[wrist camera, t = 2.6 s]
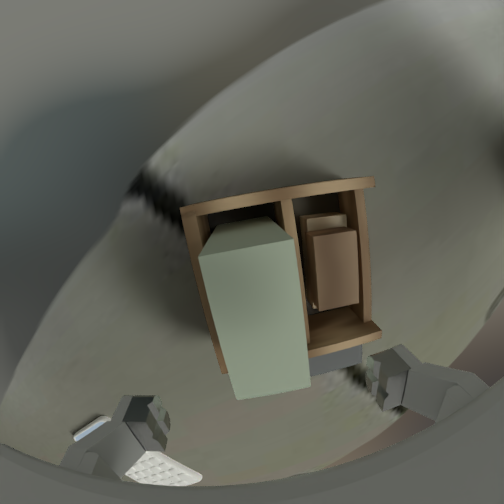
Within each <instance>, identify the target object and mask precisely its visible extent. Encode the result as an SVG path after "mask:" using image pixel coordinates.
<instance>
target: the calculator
mask: <svg viewBox="0 0 504 504" xmlns="http://www.w3.org/2000/svg"><path fill="white" fill-rule="evenodd" d="M106 421H111V418H109V417H107V416H104V415H103V416H100V417H98V418H97V419H95V420H94V421H92V422H91V423H89V424H88V425H86V426H85V427H83V428H82V429H80V430H79V431H77V432H76V433H75V434H74V437H73V438H74V440H75V441H76V442H77V441H78V440H80V439H81V438H83V437H84V436H86V435H87V434H89V433H90V432H92V431H93V430H95V429H96V428H98V427H99V426H101V425H102V424H104V423H105V422H106ZM136 469H137V470H136ZM125 475H127V476H128V477H130V478H132V479H134V480H136V481H137V482H139V483H143V484H153V485H166V486H186V485H190V484H193V483H196V482H199V481H201V480H202V475H201V474H200V473H198V472H196V471H194V470H192V469H190V468H188V467H186V466H184V465H182V464H180V463H179V462H177V461H175V460H173V459H171V458H170V457H168V456H166V455H164V454H163V453H161V452H159V451H146V452H145V453H144V455H143V456H142V457H141V458H140V459H139V460H138V461H137V462H136V463H135V464H134V465H133V466H132V467H131V468H130V469H129V470H128V471H127V472H126V473H125Z"/></svg>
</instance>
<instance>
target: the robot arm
mask: <svg viewBox="0 0 504 504" xmlns="http://www.w3.org/2000/svg"><path fill="white" fill-rule="evenodd" d="M366 365H367V366H368V368H369V370H368V371H367V372H366V383H367V387H368V389H369V391H370V393H371V394H372V395H375V396H376V402H377V404H378V405H379V407H380V408H381V410H382V411H386V410H388V409H391V408H393V407H396V406H398V405H401V404H402V406H404V407H406V408H409V409H411V410H413V411H415V412H417V413H419V414H422V415H424V416H426V417H428V418H430V419H433V420H435V421H436V422H435V424H434V425H432V426H431V427H429V428H427V429H425V430H423V431H421V432H419V433H417V434H415V435H413V436H411V437H409V438H407V439H405V440H403V441H401V442H398V443H396V444H394V445H392V446H389V447H387V448H385V449H382V450H380V451H377V452H375V453H372V454H370V455H367V456H364V457H361V458H359V459H356V460H353V461H350V462H347V463H344V464H341V465H338V466H334V467H331V468H327V469H324V470H319V471H316V472H312V473H307V474H303V475H298V476H294V477H289V478H283V479H278V480H271V481H265V482H257V483H249V484H239V485H225V486H166V485H153V484H143V483H135V482H128V481H123V480H122V479H121V478H122V477H123V475H124V474H125V473H126V472H127V471H128V470H129V469H130V468H131V467H132V466H133V465H134V464H135V463H136V462H137V461H138V460H139V459H140V458H141V457H142V456H143V455H144V453H145V452H146V451H165V449H166V444H167V440H168V439H167V437H166V436H165V435H166V434H167V433H168V432H169V431H170V418H169V414H168V412H167V411H166V410H165V409H164V408H162V407H161V405H162V401H161V399H160V397H159V396H157V395H135V396H131V395H124V396H123V397H122V398H121V400H120V402H119V404H118V406H117V408H116V410H115V412H114V414H113V417H112V419H111V421H106V422H105V423H104V424H102V425H101V426H99V427H98V428H96V429H95V430H93V431H92V432H90V433H89V434H87V435H86V436H84V437H83V438H81V439H80V440H78V441H77V442H75V443H74V444H72V445H70V446H69V447H68V449H67V451H66V453H65V455H64V457H63V459H62V461H61V463H60V465H59V466H58V465H55V464H52V463H49V462H46V461H43V460H41V459H38V458H35V457H33V456H30V455H28V454H25V453H23V452H21V451H18V450H16V449H14V448H12V447H10V446H8V445H5V444H1V443H0V504H504V377H503V378H501V379H500V380H499V381H498V382H497V383H495V384H494V385H493V386H492V387H489V386H488V385H486V384H485V383H484V382H483V381H482V380H481V379H480V378H479V377H477V376H476V375H475V374H474V373H472V372H466V371H462V370H457V369H452V368H448V367H443V366H439V365H434V364H430V363H426V362H425V363H423V364H422V363H421V362H420V361H419V360H418V359H417V358H416V357H415V356H414V355H413V354H412V353H411V352H410V351H409V350H408V349H407V348H406V347H405V346H404V345H402V344H399V345H397V346H394V347H392V348H390V349H387V350H385V351H382V352H379V353H376V354H373V355H371V356H368V358H367V364H366Z"/></svg>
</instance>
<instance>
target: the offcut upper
mask: <svg viewBox="0 0 504 504" xmlns="http://www.w3.org/2000/svg"><path fill="white" fill-rule="evenodd" d="M305 238H306V247H307V257H308V268H309V279H310V291H311V300H312V302H313V303H314V305H315V306H316V308H317V309H318V311H324V310H328V309H333V308H338V307H342V306H347V305H351V304H356V303H359V275H358V250H357V234H356V230H354V229H351V228H348V227H345V226H343V227H336V228H329V229H322V230H315V231H308V232H305Z"/></svg>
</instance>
